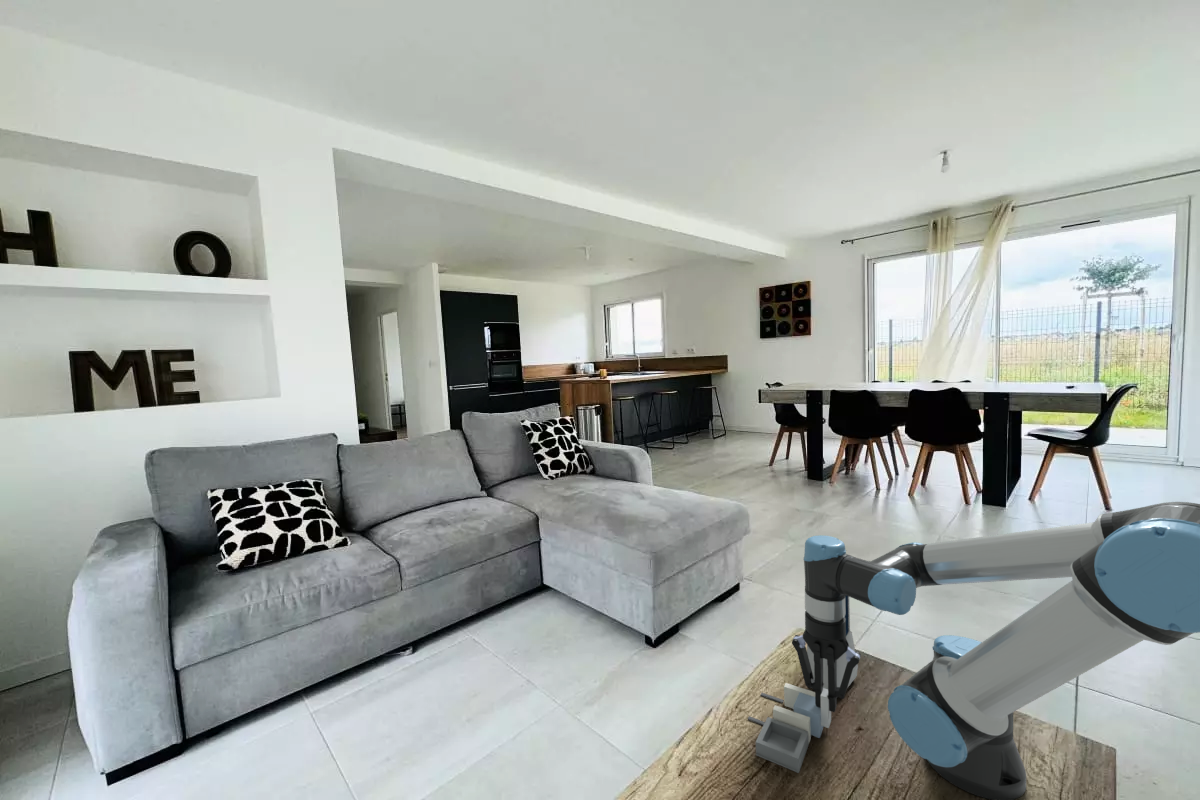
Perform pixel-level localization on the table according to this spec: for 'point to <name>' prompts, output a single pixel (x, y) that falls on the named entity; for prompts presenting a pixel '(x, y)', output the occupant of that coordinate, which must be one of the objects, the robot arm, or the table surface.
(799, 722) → the channel
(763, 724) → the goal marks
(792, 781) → the table surface
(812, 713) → the block
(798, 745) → the tray
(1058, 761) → the table surface
